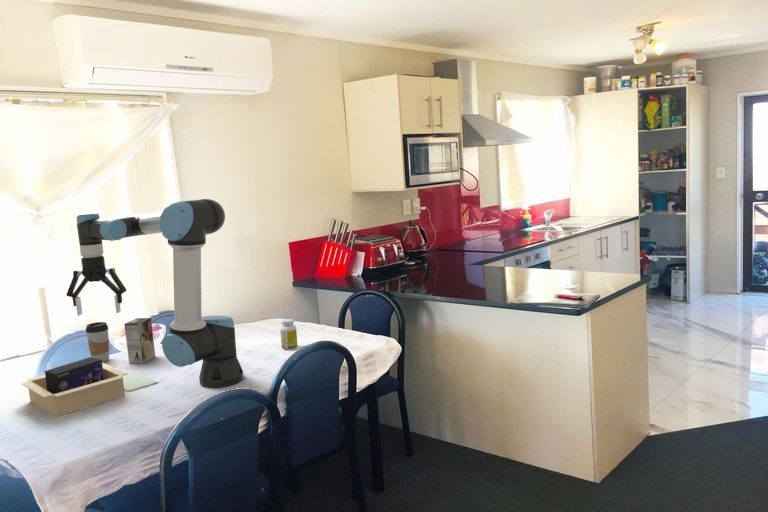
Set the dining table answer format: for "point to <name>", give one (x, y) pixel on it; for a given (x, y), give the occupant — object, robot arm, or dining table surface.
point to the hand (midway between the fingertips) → (99, 313)
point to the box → (74, 375)
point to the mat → (136, 381)
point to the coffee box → (139, 340)
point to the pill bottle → (288, 334)
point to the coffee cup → (98, 340)
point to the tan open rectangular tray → (76, 392)
